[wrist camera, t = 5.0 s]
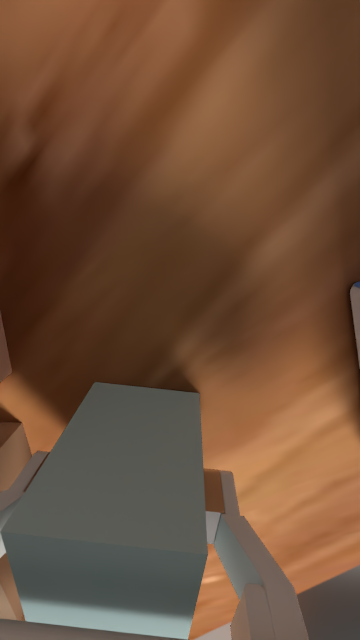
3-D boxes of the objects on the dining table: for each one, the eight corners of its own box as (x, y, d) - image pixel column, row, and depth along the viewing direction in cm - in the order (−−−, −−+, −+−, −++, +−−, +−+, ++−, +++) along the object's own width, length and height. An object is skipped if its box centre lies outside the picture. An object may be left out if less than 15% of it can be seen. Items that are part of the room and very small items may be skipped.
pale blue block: (94, 381, 11) (0, 531, 6) (199, 393, 11) (207, 554, 6) (97, 458, 13) (27, 628, 8) (188, 467, 13) (185, 646, 7)
